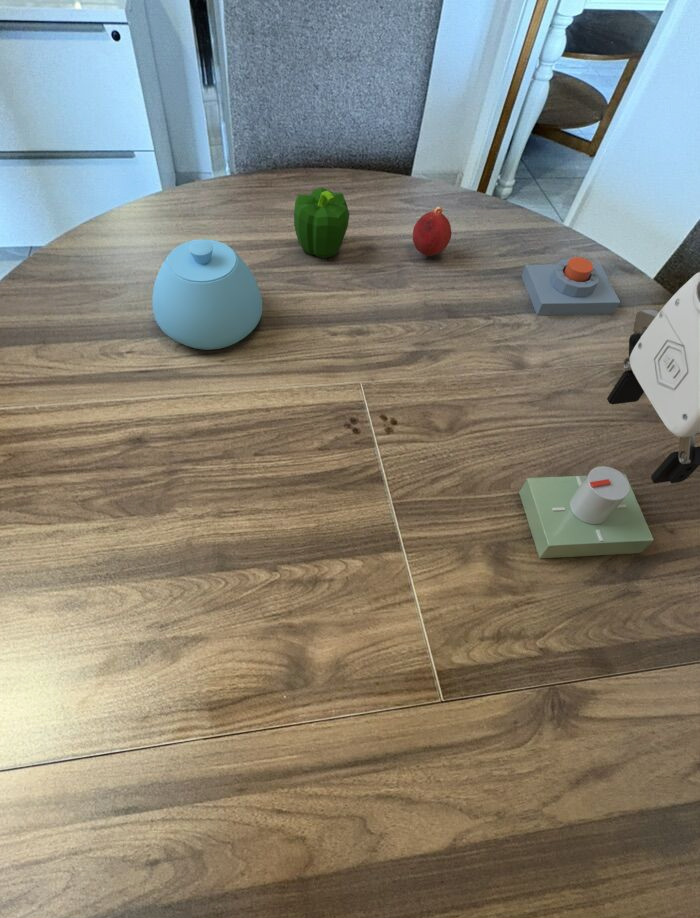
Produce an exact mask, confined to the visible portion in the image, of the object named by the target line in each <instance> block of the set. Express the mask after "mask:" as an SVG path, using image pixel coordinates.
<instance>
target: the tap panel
mask: <svg viewBox="0 0 700 918" xmlns="http://www.w3.org/2000/svg"><path fill="white" fill-rule="evenodd" d="M622 474H623V475H624V476H625V477H626V479H627V480H628V482H629V486H630V490H629V493H628V495H627V496H626V497H625V499H624V500H623V501H622V502H621V503H620V504H619V506H618V507H617V508H616V509H615V510H614V511H613V513H612V514H611V515H610V516H609V517H608V518H607V520H606V521H604V522H603V523H600V524H588V523H585V522H583V521H581V520H580V519H578V518H577V517H576V516H575V515H574V514H573V512H572V511H571V508H570V500H571V497H572V496H573V495H574V493H575V492H576V490H577V489H578V488H579V486H580V485H581V484H582V482H583V481H584V479H585V478H586V477H587V475H568V476H566V475H565V476H544V477H527V478H526V479H525V481H524V482H523V484H522V486H521V488H520V489H519V491H518V494H519V497H520V501H521V503H522V507H523V510H524V513H525V517H526V520H527V523H528V526H529V529H530V533H531V536H532V539H533V542H534V545H535V549H536V552H537V555H538V558H539V559H553V558H554V559H556V558H573V557H592V556H593V557H594V556H611V555H612V556H613V555H631V554H641V553H643V551H644V550H646V549H647V548H648V547H649V546H650V545H651V544H652V543H653V542H654V540H655V539H654V537H653V534H652V532H651V530H650V528H649V525H648V523H647V520H646V519H645V516H644V513H643V511H642V509H641V507H640V504H639V502H638V500H637V498H636V495H635V492H634V491H633V488H632V486H631V483H630V481H629V479H628V476H627V474H626V473H622Z"/></svg>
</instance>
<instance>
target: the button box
mask: <svg viewBox="0 0 700 918" xmlns="http://www.w3.org/2000/svg"><path fill="white" fill-rule="evenodd" d="M570 259H571V258H565V259H561V260H559V261H558V262H556V263H555V264H554V263H553V264H525V266H524V269H523V271H522V274H521V280H522V282H523V284H524V286H525V289H526V293H527V294H528V297H529V300H530V301H531V304H532V306H533V308H534V311H535V314H536V316H577V315H580V316H581V315H582V316H585V315H614V314H615V313H616V312H617V309H618V308H619V306H620V304H621V301H620V299H619V296H618V295H617V293H616V291H615V289H614V287H613V285H612V283H611V281H610V279H609V277H608V275H607V273H606V272H605V270H604V268H603V266H602V264H601V263H592V264H593V270H592V272H591V274H590V276H589V278H588V280H587V281H585V282H576V281H573V280H570V279H569V278H568V277H566V276H565V274H564V271H565V268H566V266H567V264H568V262H569V260H570Z"/></svg>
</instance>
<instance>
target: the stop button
mask: <svg viewBox="0 0 700 918" xmlns="http://www.w3.org/2000/svg"><path fill="white" fill-rule="evenodd" d="M569 259H570V260H569V262H568V264H567V266H566V268H565V271H564V274H565V276H566V277H568V278H569V279H570V280H573V281H576V282H585V281H587V280H588V278H589V276H590V274H591V272H592V270H593V264H594V263H592V262H591V261H590V260H589V259H587V258H584V257H581V256H574V257H571V258H569Z"/></svg>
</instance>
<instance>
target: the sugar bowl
mask: <svg viewBox="0 0 700 918" xmlns="http://www.w3.org/2000/svg"><path fill="white" fill-rule="evenodd" d="M262 298H263V297H262V294H261V289H260V287H259V284H258V281H257V280H256V277H255V275H254V274H253V272H252V271H251V269H250V267H249V266H248V265H247V263H246V262H245V261H244V260H243V259H242V258H241V256H240V255H239V254H238V253H237V252H236V251H235V250H233V248H232V247H230V246H229V245H227V244H226V243H224V242H221V241H219V240H215V239H209V238H208V239H207V238H201V239H200V238H198V239H192V240H188V241H185V242H183V243H181V244H179V245H177V246H175V247H174V248H173V249H172V250H171V251H170V252H169V253H168V255H167V257H166V258H165V260H164V262H163V263H162V265H161V267H160V269H159V271H158V273H157V275H156V278H155V281H154V285H153V289H152V298H151V299H152V300H151V301H152V306H151V307H152V313H153V317H154V321H155V323H156V324H157V325H158V327H159V329H160V330H162V332H163V333H164V334H165V335H167V336H168V337H169V338H171V339H172V340H173V341H175V342H177V343H179V344H181V345H183V346H185V347H189V348H192V349H196V350H205V351H210V350H211V351H213V350H220V349H224V348H228V347H231V346H233V345H235V344H237V343H239V342H240V341H242V340H243V339H245V338H246V337H247V336H248V335H249V334H251V333H252V331H254V330H255V329H256V327H258V324H259V322H260V320H261V318H262V315H263V309H264V307H263V299H262Z"/></svg>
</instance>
